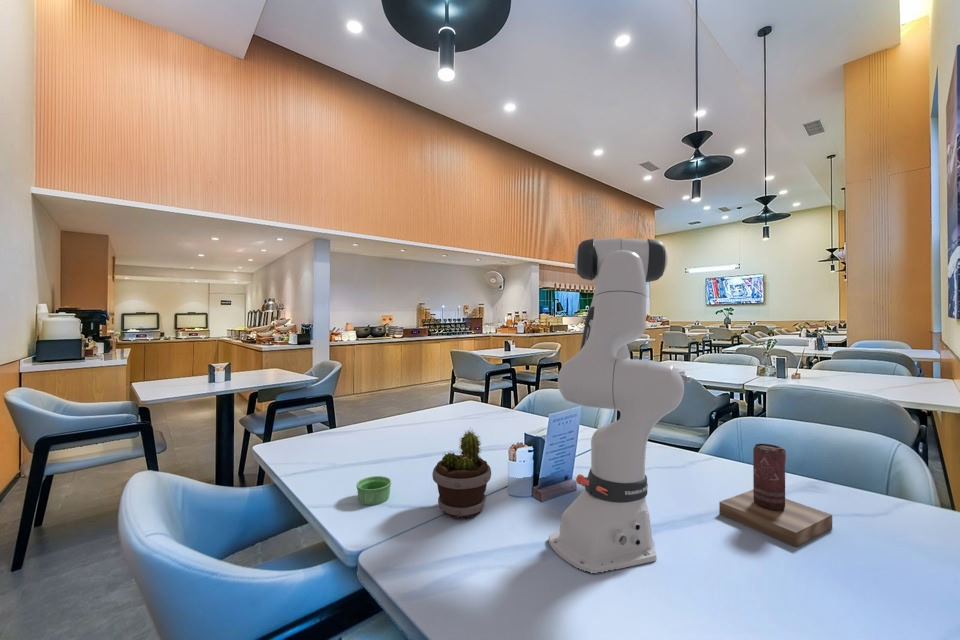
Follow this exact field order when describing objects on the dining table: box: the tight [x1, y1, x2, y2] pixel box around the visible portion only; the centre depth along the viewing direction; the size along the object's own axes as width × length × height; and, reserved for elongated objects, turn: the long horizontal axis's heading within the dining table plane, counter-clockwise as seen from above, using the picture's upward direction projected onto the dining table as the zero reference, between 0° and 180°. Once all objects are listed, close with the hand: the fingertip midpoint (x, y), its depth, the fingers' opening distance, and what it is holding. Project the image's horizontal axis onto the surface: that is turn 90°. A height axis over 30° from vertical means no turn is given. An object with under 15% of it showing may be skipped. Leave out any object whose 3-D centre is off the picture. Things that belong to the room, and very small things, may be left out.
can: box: [752, 443, 787, 511], centre depth 95 cm, size 6×6×14 cm
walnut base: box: [718, 489, 833, 548], centre depth 94 cm, size 16×16×3 cm
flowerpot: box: [431, 426, 492, 520], centre depth 100 cm, size 14×15×20 cm
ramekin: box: [356, 475, 392, 506], centre depth 107 cm, size 9×9×4 cm
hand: (678, 380), depth 113 cm, fingers open, 8 cm apart
